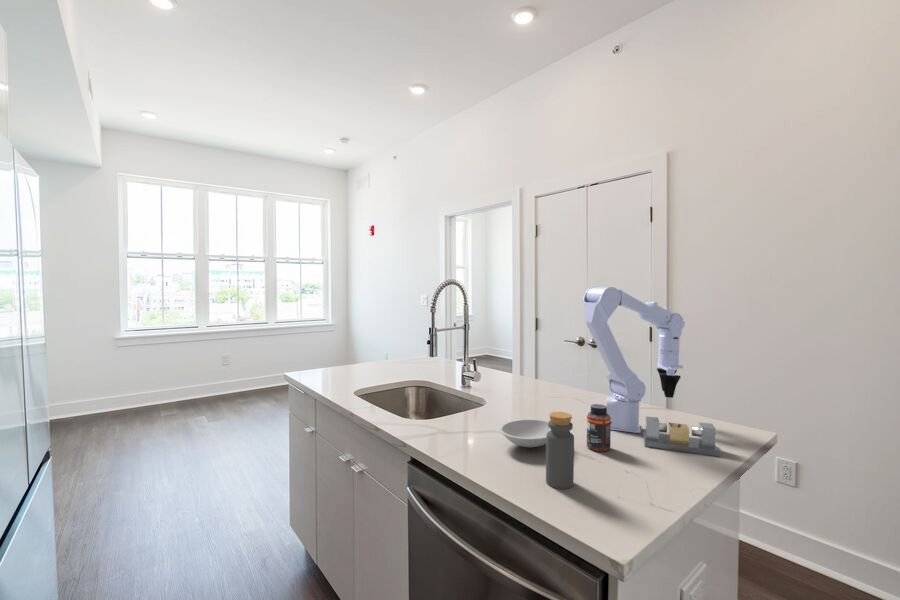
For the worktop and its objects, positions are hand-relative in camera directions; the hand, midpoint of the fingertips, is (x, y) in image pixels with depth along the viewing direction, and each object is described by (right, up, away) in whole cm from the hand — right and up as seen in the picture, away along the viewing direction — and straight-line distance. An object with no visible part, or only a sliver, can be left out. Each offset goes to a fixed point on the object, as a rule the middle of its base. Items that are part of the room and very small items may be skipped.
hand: (667, 394), depth 130 cm
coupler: (-6, -9, -18) cm, 21 cm away
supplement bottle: (-28, -10, -19) cm, 36 cm away
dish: (-46, -10, -19) cm, 51 cm away
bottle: (-44, -11, -39) cm, 60 cm away
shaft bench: (-6, -10, -18) cm, 21 cm away
